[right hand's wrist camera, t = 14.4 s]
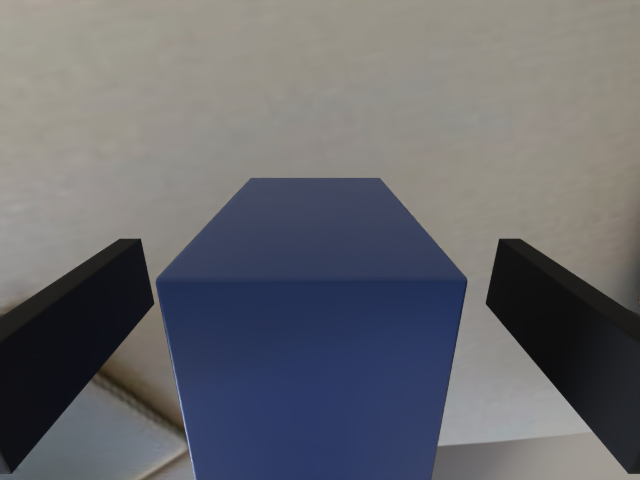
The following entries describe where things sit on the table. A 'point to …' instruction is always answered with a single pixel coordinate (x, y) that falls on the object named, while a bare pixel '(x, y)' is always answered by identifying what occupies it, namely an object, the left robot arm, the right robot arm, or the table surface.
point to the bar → (312, 334)
